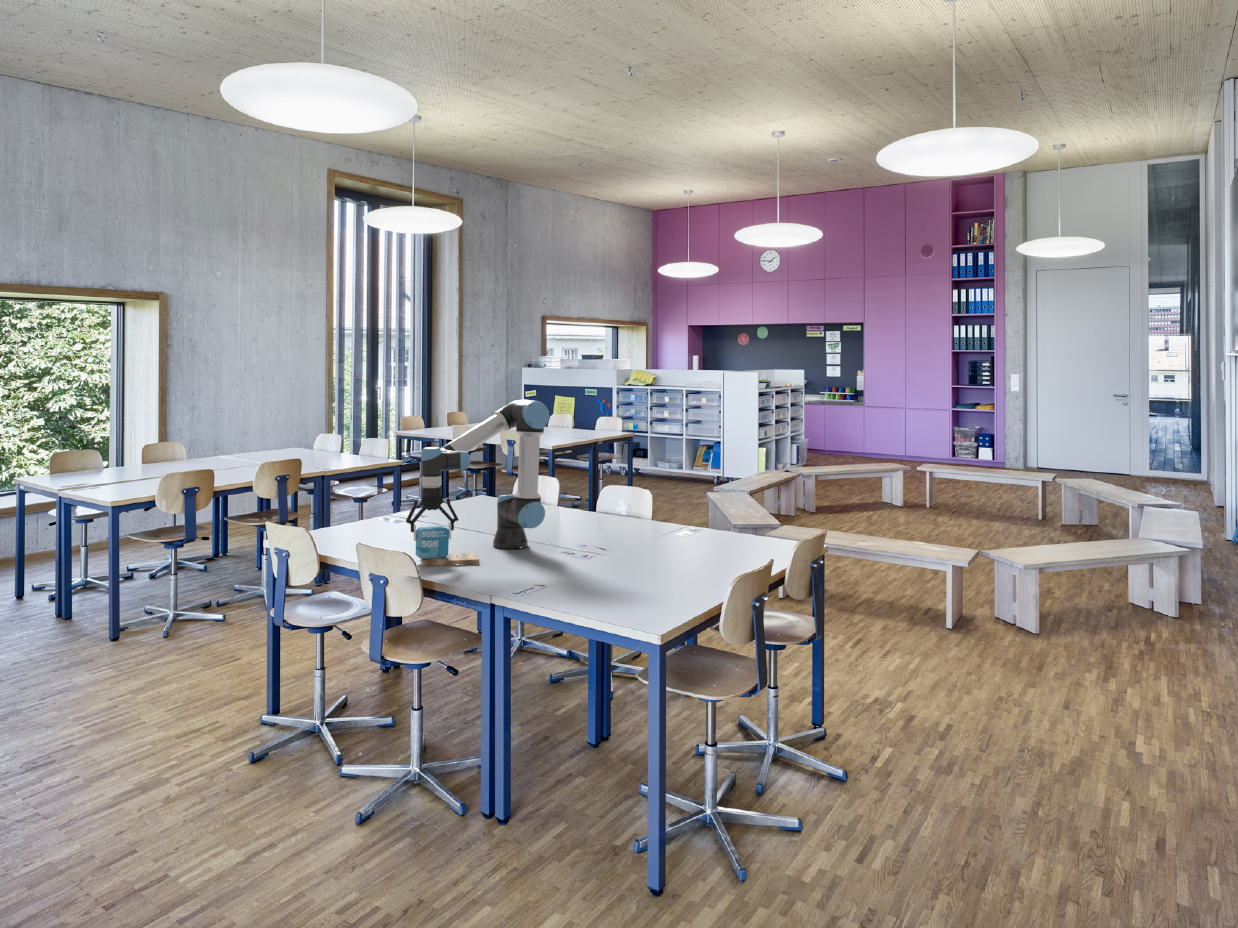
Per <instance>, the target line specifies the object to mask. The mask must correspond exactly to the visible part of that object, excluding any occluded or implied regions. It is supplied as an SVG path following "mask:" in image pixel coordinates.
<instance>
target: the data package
mask: <svg viewBox="0 0 1238 928" xmlns="http://www.w3.org/2000/svg"><path fill="white" fill-rule="evenodd" d="M449 540H450V539H449V528H447V527H445V526H443V525H441V526H440V525H439V526H420V527H418V528H416V541H415V555H416V557H417V558H418V559H420V558H421V559H431V558H444V557H447V555H448V554H449Z"/></svg>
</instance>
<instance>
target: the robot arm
mask: <svg viewBox="0 0 1238 928" xmlns="http://www.w3.org/2000/svg"><path fill="white" fill-rule="evenodd" d="M548 409H549V408H547V405H545V403H543V402H542V401H538V400H534V399H530V400H529V399H516V400H513V401H511V402H508V403H507V404H505V405H504V406H502V407H501V408H499V409H498V410H495V411H494V413H493V415H491V416H490V417H488V418H487V419H485V420H484V421H482V422H481V423H479V424H477V425H476V426H473V427H472V428H471V429H469V430H467V431H466V432H463V434H461V435H459V436H458V437H456V438H455V439H453V440H451V441H450V442H448V443H446V444H445V445H443V446H441V447H438V446H437V447H436V446H429V447H423V448H422V450H421V459H420V460H421V485H422V487H421V499H417V498H415V499H414V500H413V504H412V507H411V509H410V511H409V513H408V515H407V517H406V519H405V522H406V524H409V525H410V532H411V533H413V541H414V542H416V530H417V525H416V522H417V521H418V520H419V519H420V517H421V516H422V515H423V513H425V511H426V510H428V511H437V510H439V511H440V512H441V513H442V514H443V515H444V516H445V518H447V519H448V521H449V522H448V530H449V540H452V531H454V530H455V523H456V522H458V521H459V517H458V516H457V514H456V512H455V510H454V508H453V506H452V504H451V501H450V498H449V497H446V498H443V497H442V495H443V493H442V488H443V487H441V486H442V472H445V471H462V470H468V469H469V467H470V465H471V456H470V454H469V452H471V451H473V450H474V449H476V448H478V446H480V445H482V444H483V443H485V442H487V441H488V440H490V439H491V438H494V437H495V436H496V435H498V434H499V433H501V432H503V431H504V432H508V431H509V430H511V429H513V428H515V429H516V430H515V432H516V434H518V435H519V443H518V444H519V445H518V468H517V469H518V471H517V472H518V473H517V490H516V493H511V494H501V495H498V497H497V504H496V506H497V507H496V509H497V510H496V511H497V512H496V513H497V515H496V517H497V519H496V522H497V523H496V524H497V525H496V526H497V528H496V530H495V531H496V532H495V534H494V538H493V541H492V546H493V547H494V548H496V547H498V548H497V549H500V548H502V550H515V549H514V548H520V547H525V548H527V547H528V546H529V545H528V544H529V543H528V541H529V540H528V538H527V536H526V531H525V529H535V528H538V527H539V526H540V525H541V524H542V523H543V522H544V519H545V518H546V517H545V516H546V510H545V507H544V505H543V504H542V502H541V501H542V496H541V495H540V494H539V492H538V491H539V470H540V469H539V466H540V464H539V463H540V443H541V436H542V435H544V433H545V432H544V431H545V427H546V426H547V425H548V423H549V420H550V412H549V410H548ZM443 503H444V504H445V505H447V507H448V509H449V511H450V513H451V515H452V516H453V517H452V516H451V515H450V514H449V513H448V512H447V511H446V510H445V509H444V508H443V506H442V504H443ZM420 504H422V507H421V508H420V510H419V511H418V512H417V513H415V511H416V510H417V507H418V506H419V505H420ZM414 514H416V515H415V516H413V515H414ZM527 545H528V546H527ZM526 546H527V547H526ZM520 549H521V548H520Z"/></svg>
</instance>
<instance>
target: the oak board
mask: <svg viewBox="0 0 1238 928" xmlns="http://www.w3.org/2000/svg"><path fill="white" fill-rule="evenodd" d="M419 559H421V558H419ZM421 562H422V563H421ZM420 563H421V565H422V567H423V566H428V567H437V566H436V565H451V566H457V565H456V564H475V565H480V558H479V557H478V555H477V553H476V552H455V553H448V555H447V557H444V558H431V559H421V560H420Z"/></svg>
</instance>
